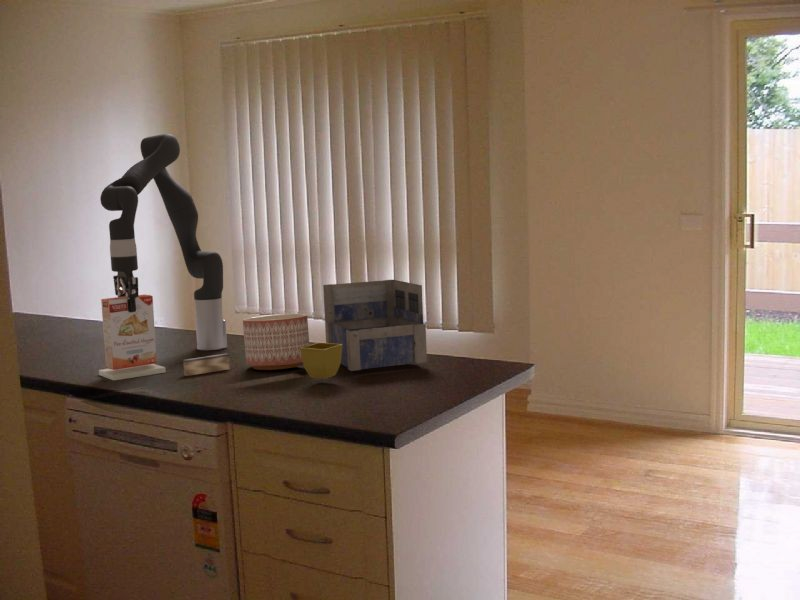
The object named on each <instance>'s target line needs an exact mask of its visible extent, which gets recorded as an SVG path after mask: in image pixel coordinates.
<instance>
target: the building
mask: <svg viewBox="0 0 800 600" xmlns="http://www.w3.org/2000/svg"><path fill="white" fill-rule="evenodd" d="M322 287H323V289H322V290H323V306H324V328H325V329H324V330H325V343H333V344H342V356H341V363H340V365H342V366H344V367H347V370H349V371H350V372H355V371H361V370H365V369H375V368H385V367H392V366H401V365H409V364H422V363H423V364H424V363H427V362H428V356H427V355H428V353H427V328H426V323H424V311H423V310H424V307H423V305H424V304H423V285H422V284H417V283H412V282H407V281H403V280H401V281H400V280H399V279H398V280H397V279H385V280H373V281H371V280H369V281H362V282H361V281H360V282H348V283H346V282H345V283H344V282H343V283H333V284H323V285H322Z"/></svg>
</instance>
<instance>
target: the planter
mask: <svg viewBox="0 0 800 600" xmlns="http://www.w3.org/2000/svg"><path fill="white" fill-rule="evenodd" d="M308 321H309V320H308V314H307V313H281V314H280V313H279V314H268V315H260V316H253V317H246V318H243V319H242V327H243V329H242V330H243V338H244V340H243V342H244V354H245V364H246V365H247V366H251V367H252V369H254V370H258V371H259V370H260V371H262V370H263V371H269V370H270V371H272V370H273V371H274V370H284V369H285V370H286V369H291V368H297V367H301V366H304V365H303V361H302V356H301V350H300V348H301V347H304V346H308V345H310V335H309V334H310V333H309V322H308Z"/></svg>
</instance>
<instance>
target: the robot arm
mask: <svg viewBox="0 0 800 600" xmlns="http://www.w3.org/2000/svg"><path fill="white" fill-rule="evenodd" d="M140 152H141V156H142V158H143V159H142V160H140V161H137V162H136V163H135V164H133V165H132V166H131V167H129V169H128V170H126V172H125V173H124V174H122V176H121V177H119V178H118V179H116V180H114V181H113V182H110V183H109V184H108V185H107V186H105V187H104V188H103V189H102V192H101V194H100V200H99V201H100V204H101V206H102V207H103V209H104V210H107V211H110V212H117V211H119V212H121V214H120V217H119V218H115V219H112V220H110V222H109V224H108V228H109V229H108V231H109V252H110V254H109V255H110V265H111V266H110V268H111V271H112V272H114V273H116V272H117V275H113V278H112V279H113V284H114V294H115V296H117V297H124V296H127V304H128V312H135V311H136V302H135V299H136V297H138V295H139V278H138V276H134V271H138V269H139V265H138V251H137V244H136V238H135V237H136V235H135V222H136V221H135V220H136V213H137V210H138V206H139V195H140V194H141V193H142V192H143V191H144V189H145V188H146V187H147V185H148V184H149V183H150V182H151V181H152V180H154V182H155V185H156V187H157V189H158V191H159V194H160V196H161V199H162V202H163V204H164V207H165V210H166V212H167V215H168V217H169V220H170V221H171V225H172V227H173V229H174V232H175V234H176V237H177V240H178V242H179V246H180V249H181V253H182V256H183V259H184V264H185V266H186V269H187V272H188V273H189V275H190V276H191V277H192V278H194V279H202V286H201V287H200V288H198V289H196V290H194V292H193V302H194V314H195V315H194V317H195V330H196V331H195V333H196V345H197V350H199V351H216V350H217V351H218V350H222V349H226V348H228V339H227V325H226V324H227V323H226V322H227V321H226V320H225V319H224V315H223V298H222V297H223V289H224V263H223V259H222V257H221V255H220V254H219V253H218V252H216V251H202V249H201V247H200V245H199V242H198V239H197V230H198V229H197V228H198V222H199V212H198V209H197V207H196V203H195V202H194V199H193V197H192V195H191V193H190V192H188V190H187V189H185V187H183V186H182V184H180V183H179V182H177V181H176V180H175V179H174V178H173V177H172V176H171V175H170V173H169V171H168V170H167V167H169V166H170V165H171V164H173V163H174V162H175V161H177V160H178V158H179V157H180V155H181V154H180V152H181V148H180V142H179V141H178V138H176V136H174V135H173V134H171V133H164V134H163V133H162V134H156V135H152V136H146V137H144V138H142V139H141V141H140Z"/></svg>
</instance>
